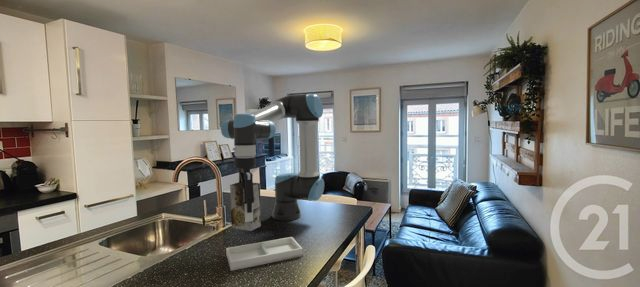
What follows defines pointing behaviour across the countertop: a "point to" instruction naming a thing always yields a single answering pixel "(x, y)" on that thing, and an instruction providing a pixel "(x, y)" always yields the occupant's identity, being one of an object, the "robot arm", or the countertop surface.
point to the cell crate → (263, 253)
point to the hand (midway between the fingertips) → (246, 216)
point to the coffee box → (239, 207)
